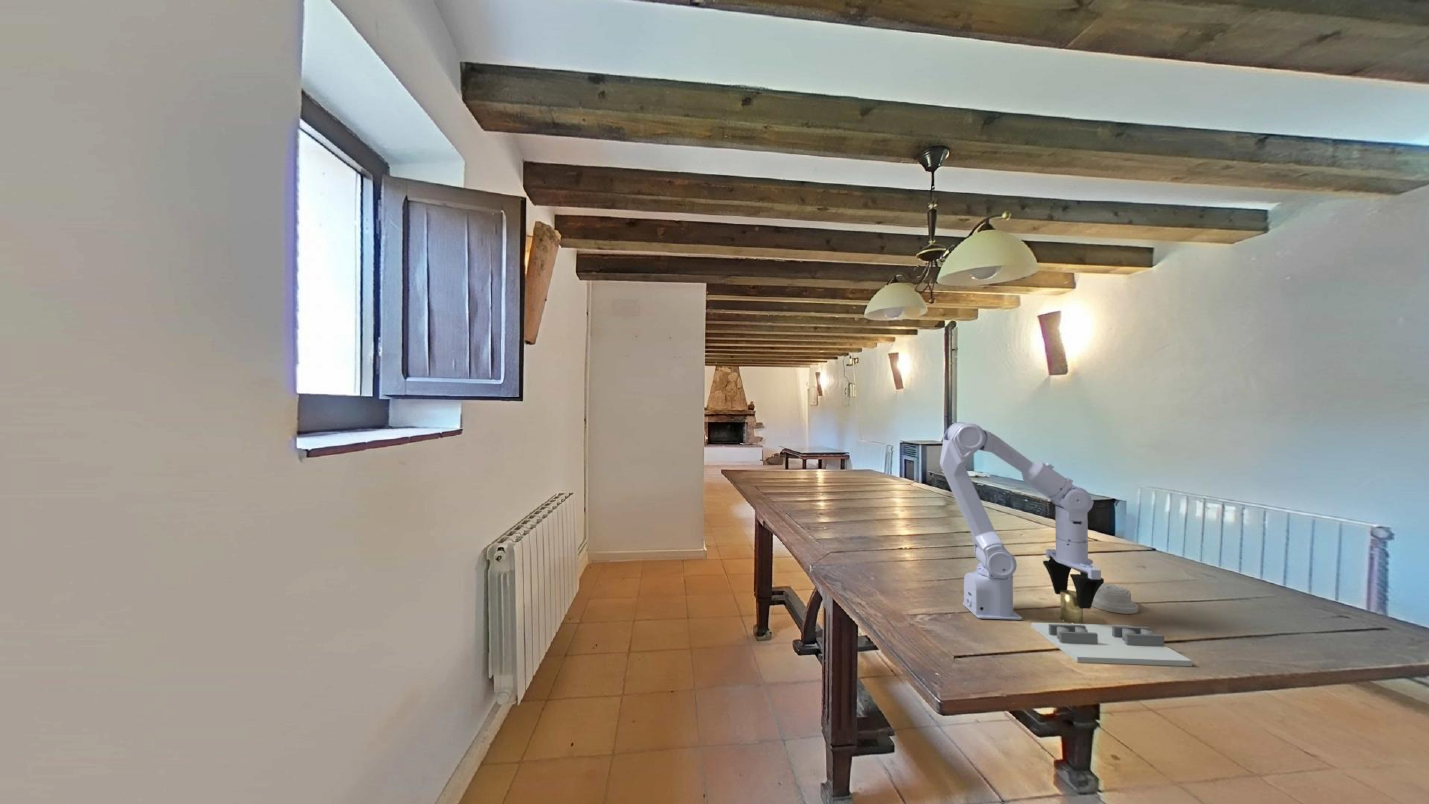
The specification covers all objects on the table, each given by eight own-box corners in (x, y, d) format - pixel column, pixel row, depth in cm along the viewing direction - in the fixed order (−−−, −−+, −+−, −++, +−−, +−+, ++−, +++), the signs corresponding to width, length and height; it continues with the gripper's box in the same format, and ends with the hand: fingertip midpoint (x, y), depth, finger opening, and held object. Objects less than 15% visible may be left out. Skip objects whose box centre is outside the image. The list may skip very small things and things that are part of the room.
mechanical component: (1150, 616, 107) (1117, 598, 117) (1149, 596, 107) (1116, 580, 117) (1102, 614, 108) (1074, 597, 118) (1102, 594, 108) (1074, 579, 118)
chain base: (1077, 662, 87) (1077, 646, 87) (1031, 627, 101) (1031, 613, 101) (1191, 666, 86) (1191, 649, 86) (1129, 630, 100) (1129, 615, 100)
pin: (1068, 624, 103) (1068, 596, 103) (1056, 616, 107) (1056, 589, 107) (1087, 624, 102) (1087, 597, 103) (1074, 616, 106) (1074, 590, 107)
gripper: (1116, 549, 97) (1116, 615, 97) (1067, 530, 112) (1068, 588, 112) (1080, 548, 98) (1081, 614, 98) (1036, 530, 112) (1037, 587, 112)
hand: (1072, 600), depth 105 cm, fingers open, 7 cm apart
